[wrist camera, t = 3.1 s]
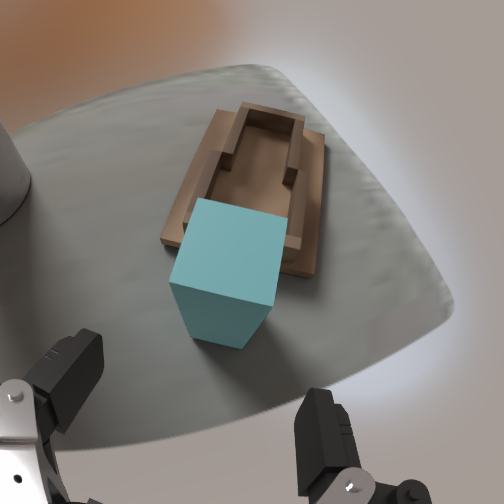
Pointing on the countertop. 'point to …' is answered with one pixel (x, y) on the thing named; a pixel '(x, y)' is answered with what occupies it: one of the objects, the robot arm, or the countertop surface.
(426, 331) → the countertop surface
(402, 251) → the countertop surface
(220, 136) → the keyhole board
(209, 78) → the countertop surface
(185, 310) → the post
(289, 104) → the countertop surface
